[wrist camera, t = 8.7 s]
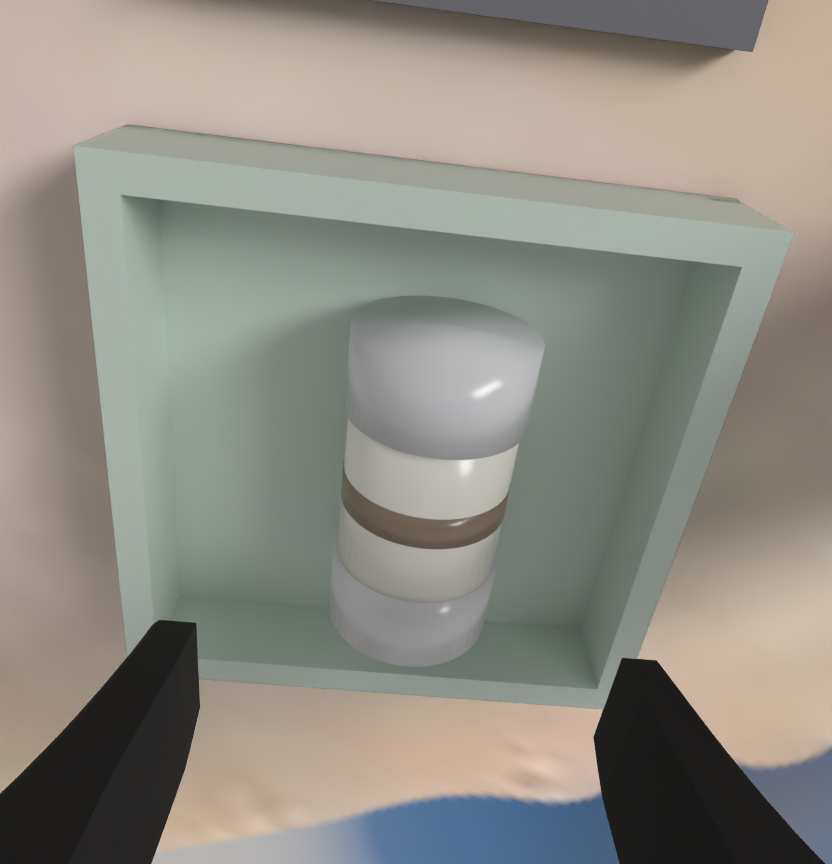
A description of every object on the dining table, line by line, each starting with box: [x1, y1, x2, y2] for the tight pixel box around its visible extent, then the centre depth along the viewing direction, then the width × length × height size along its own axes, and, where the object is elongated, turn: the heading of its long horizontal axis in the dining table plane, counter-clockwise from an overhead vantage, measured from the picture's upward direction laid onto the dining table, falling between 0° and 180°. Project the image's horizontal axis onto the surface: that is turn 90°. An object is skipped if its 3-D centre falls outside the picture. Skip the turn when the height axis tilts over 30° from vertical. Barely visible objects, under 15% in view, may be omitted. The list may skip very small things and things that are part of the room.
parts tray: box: [73, 125, 794, 709], centre depth 19 cm, size 14×14×3 cm
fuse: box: [329, 296, 545, 667], centre depth 18 cm, size 4×8×4 cm, turn 173°
